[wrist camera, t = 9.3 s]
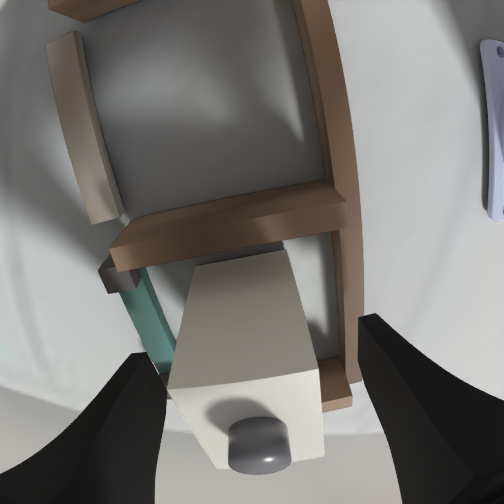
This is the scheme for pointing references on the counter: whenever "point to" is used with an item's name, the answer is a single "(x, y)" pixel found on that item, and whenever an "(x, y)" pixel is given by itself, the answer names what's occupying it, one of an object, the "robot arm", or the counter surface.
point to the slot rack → (228, 209)
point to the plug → (248, 366)
